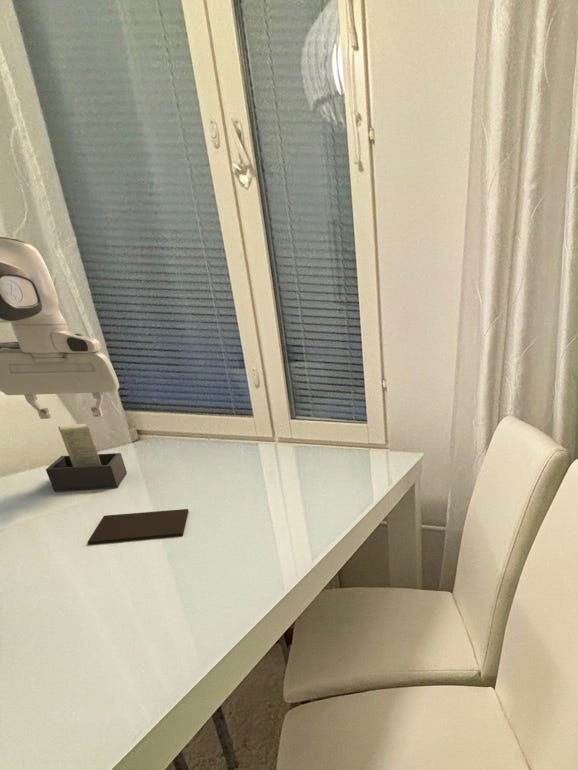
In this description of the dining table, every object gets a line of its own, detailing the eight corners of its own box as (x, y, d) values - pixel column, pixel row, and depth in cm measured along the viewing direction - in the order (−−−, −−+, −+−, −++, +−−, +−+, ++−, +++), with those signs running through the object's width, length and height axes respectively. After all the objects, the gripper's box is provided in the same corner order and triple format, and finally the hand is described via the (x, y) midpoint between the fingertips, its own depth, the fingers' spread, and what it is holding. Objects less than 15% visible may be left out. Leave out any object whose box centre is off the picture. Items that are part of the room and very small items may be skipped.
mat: (88, 544, 89) (87, 541, 89) (104, 518, 100) (103, 515, 100) (183, 535, 94) (182, 532, 93) (188, 511, 105) (188, 508, 104)
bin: (54, 491, 114) (45, 469, 111) (68, 476, 124) (61, 455, 121) (117, 487, 117) (110, 465, 115) (127, 473, 127) (120, 452, 125)
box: (103, 475, 123) (86, 423, 117) (107, 479, 120) (89, 426, 114) (76, 478, 120) (57, 425, 114) (79, 483, 117) (59, 428, 111)
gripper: (-26, 342, 101) (7, 422, 108) (101, 342, 107) (124, 417, 114) (-13, 341, 106) (17, 417, 113) (107, 340, 112) (129, 412, 119)
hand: (72, 417), depth 114 cm, fingers open, 8 cm apart
